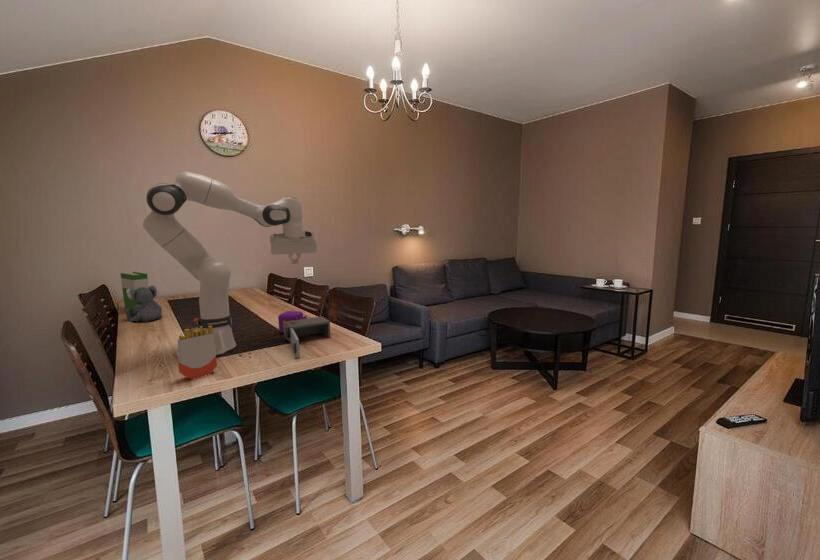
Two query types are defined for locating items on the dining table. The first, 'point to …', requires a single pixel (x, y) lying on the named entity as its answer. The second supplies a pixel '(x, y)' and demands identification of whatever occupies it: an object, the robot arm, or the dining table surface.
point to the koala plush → (144, 304)
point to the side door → (295, 343)
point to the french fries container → (197, 353)
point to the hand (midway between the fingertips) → (295, 263)
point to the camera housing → (307, 327)
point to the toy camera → (289, 318)
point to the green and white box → (132, 286)
